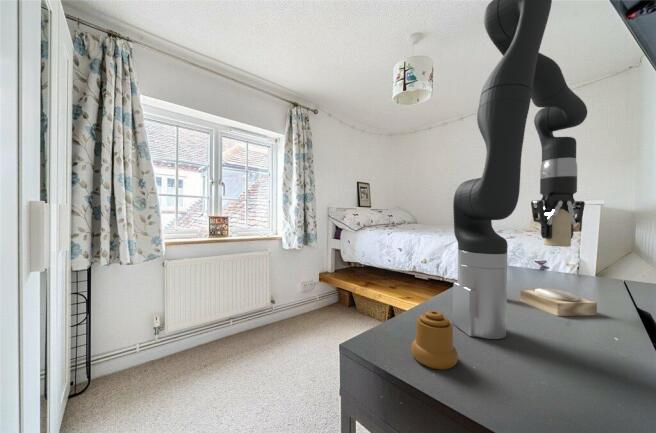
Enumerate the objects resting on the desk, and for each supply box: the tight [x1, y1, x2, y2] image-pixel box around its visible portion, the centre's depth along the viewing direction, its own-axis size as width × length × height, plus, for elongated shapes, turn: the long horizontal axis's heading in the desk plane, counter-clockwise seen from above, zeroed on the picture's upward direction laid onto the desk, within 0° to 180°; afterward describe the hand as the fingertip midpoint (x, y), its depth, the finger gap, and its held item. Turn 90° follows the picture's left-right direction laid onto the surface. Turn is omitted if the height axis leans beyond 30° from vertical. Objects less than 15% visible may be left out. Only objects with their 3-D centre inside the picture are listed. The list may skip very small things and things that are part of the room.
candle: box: [543, 209, 572, 248], centre depth 69 cm, size 6×6×10 cm
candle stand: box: [519, 287, 598, 317], centre depth 70 cm, size 11×11×4 cm
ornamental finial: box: [410, 309, 459, 370], centre depth 44 cm, size 8×8×8 cm
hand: (557, 238), depth 69 cm, fingers closed on candle, 5 cm apart
